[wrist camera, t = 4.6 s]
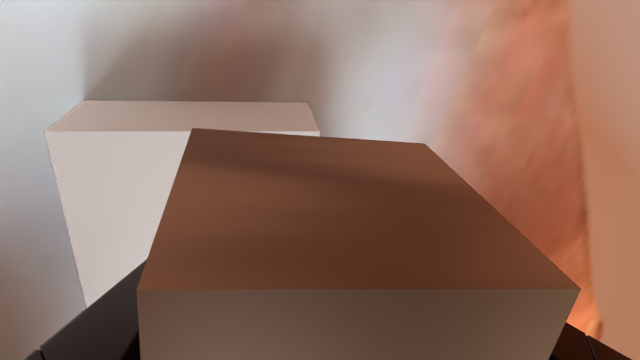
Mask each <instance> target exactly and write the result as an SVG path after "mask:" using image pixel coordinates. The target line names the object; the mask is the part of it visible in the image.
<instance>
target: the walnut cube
mask: <svg viewBox="0 0 640 360" xmlns="http://www.w3.org/2000/svg"><path fill="white" fill-rule="evenodd" d="M580 290H581V289H580V288H579V287H578V286H577V285H576V284H575V283H574V282H573V281H572V280H571V279H570V278H569V277H568V276H567V275H565V274H564V273H563V272H562V271H561V270H560V269H559V268H558V267H557V266H556V265H555V264H554V263H553V262H551V261H550V260H549V259H548V258H547V257H546V256H545V255H544V254H543V253H542V252H541V251H540V250H539V249H537V248H536V247H535V246H534V245H533V244H532V243H531V242H530V241H529V240H528V239H527V238H526V237H525V236H523V235H522V234H521V233H520V232H519V231H518V230H517V229H516V228H515V227H514V226H513V225H512V224H511V223H509V222H508V221H507V220H506V219H505V218H504V217H503V216H502V215H501V214H500V213H499V212H498V211H497V210H495V209H494V208H493V207H492V206H491V205H490V204H489V203H488V202H487V201H486V200H485V199H484V198H483V197H482V196H480V195H479V194H478V193H477V192H476V191H475V190H474V189H473V188H472V187H471V186H470V185H469V184H468V183H466V182H465V181H464V180H463V179H462V178H461V177H460V176H459V175H458V174H457V173H456V172H455V171H454V170H452V169H451V168H450V167H449V166H448V165H447V164H446V163H445V162H444V161H443V160H442V159H441V158H440V157H438V156H437V155H436V154H435V153H434V152H433V151H432V150H431V149H430V148H429V147H428V146H427V145H426V144H421V143H406V142H392V141H377V140H363V139H348V138H333V137H319V136H304V135H289V134H275V133H260V132H246V131H231V130H216V129H202V128H192V130H191V133H190V136H189V139H188V142H187V145H186V147H185V150H184V153H183V156H182V159H181V162H180V165H179V168H178V171H177V174H176V177H175V179H174V182H173V185H172V188H171V191H170V194H169V197H168V200H167V203H166V206H165V208H164V211H163V214H162V217H161V220H160V223H159V226H158V229H157V232H156V235H155V238H154V240H153V243H152V246H151V249H150V252H149V255H148V258H147V261H146V264H145V267H144V269H143V272H142V275H141V278H140V281H139V284H138V287H137V306H138V323H139V339H140V356H141V360H548V359H549V357H550V355H551V353H552V351H553V349H554V346H555V344H556V342H557V340H558V338H559V336H560V333H561V331H562V329H563V327H564V325H565V323H566V320H567V318H568V316H569V314H570V312H571V310H572V307H573V305H574V303H575V301H576V299H577V297H578V294H579V292H580Z"/></svg>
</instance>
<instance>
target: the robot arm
mask: <svg viewBox="0 0 640 360" xmlns="http://www.w3.org/2000/svg"><path fill="white" fill-rule="evenodd" d="M146 261H147V259H146V260H145V261H144V262H142V263H141V264H140V265H139V266H138V267H136V268H135V269H134V270H133V271H131V272H130V273H129V274H128V275H127V276H125V277H124V278H123V279H122V280H120V281H119V282H118V283H117V284H116V285H114V286H113V287H112V288H111V289H109V290H108V291H107V292H106V293H105V294H103V295H102V296H101V297H100V298H98V299H97V300H96V301H95V302H94V303H92V304H91V305H90V306H89V307H87V308H86V309H85V310H84V311H83V312H81V313H80V314H79V315H78V316H76V317H75V318H74V319H73V320H72V321H70V322H69V323H68V324H67V325H65V326H64V327H63V328H62V329H61V330H59V331H58V332H57V333H56V334H54V335H53V336H52V337H51V338H50V339H48V340H47V341H46V342H45V343H44V344H42V345H41V346H40V347H39V350H35V351H33V352H32V353H31V354H30V355H29V356H27V357H26V358H25V359H24V360H141V356H140V339H139V323H138V306H137V287H138V284H139V281H140V278H141V275H142V272H143V269H144V267H145V264H146ZM548 360H631V359H630V358H628V357H626V356H624V355H622V354H621V353H619V352H617V351H615V350H614V349H612V348H610V347H608V346H606V345H605V344H603V343H601V342H600V341H598V340H596V339H594V338H593V337H591V336H586V335H585V333H584V332H582V331H580V330H579V329H577V328H575V327H573V326H572V325H570V324H568V323H565V325H564V327H563V329H562V331H561V333H560V336H559V338H558V340H557V342H556V344H555V346H554V349H553V351H552V353H551V355H550V357H549V359H548Z"/></svg>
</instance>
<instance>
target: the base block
mask: <svg viewBox="0 0 640 360" xmlns="http://www.w3.org/2000/svg"><path fill="white" fill-rule="evenodd" d="M192 128H202V129H216V130H231V131H246V132H260V133H275V134H289V135H304V136H319V137H320V130H319V128H318V125H317V123H316V121H315V118H314V116H313V114H312V111H311V109H310V106H309V104H308V102H218V101H121V100H83V101H82V102H80V103H79V104H78V105H77V106H75V107H74V108H73V109H72V110H70V111H69V112H68V113H67V114H65V115H64V116H63V117H62V118H60V119H59V120H58V121H57V122H55V123H54V124H53V125H51V126H50V127H49V128H48V129H46V130H45V131H44V134H45V138H46V142H47V146H48V151H49V155H50V159H51V163H52V167H53V171H54V175H55V179H56V184H57V188H58V192H59V196H60V200H61V204H62V208H63V213H64V217H65V221H66V225H67V229H68V233H69V237H70V242H71V246H72V250H73V254H74V258H75V262H76V266H77V271H78V275H79V279H80V283H81V287H82V291H83V295H84V300H85V304H86V308H87V307H89V306H90V305H91V304H92V303H94V302H95V301H96V300H97V299H98V298H100V297H101V296H102V295H103V294H105V293H106V292H107V291H108V290H109V289H111V288H112V287H113V286H114V285H116V284H117V283H118V282H119V281H120V280H122V279H123V278H124V277H125V276H127V275H128V274H129V273H130V272H131V271H133V270H134V269H135V268H136V267H138V266H139V265H140V264H141V263H142V262H144V261H145V260H146V259H147V258H148V255H149V252H150V249H151V246H152V243H153V240H154V238H155V235H156V232H157V229H158V226H159V223H160V220H161V217H162V214H163V211H164V208H165V206H166V203H167V200H168V197H169V194H170V191H171V188H172V185H173V182H174V179H175V177H176V174H177V171H178V168H179V165H180V162H181V159H182V156H183V153H184V150H185V147H186V145H187V142H188V139H189V136H190V133H191V130H192Z"/></svg>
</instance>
